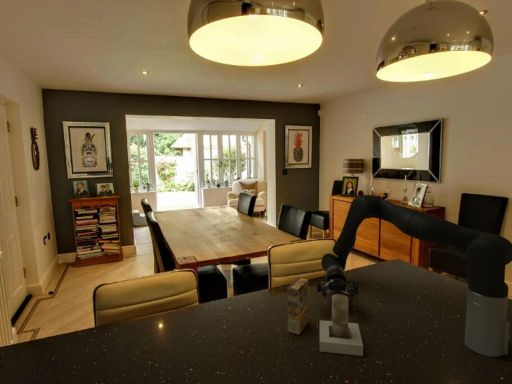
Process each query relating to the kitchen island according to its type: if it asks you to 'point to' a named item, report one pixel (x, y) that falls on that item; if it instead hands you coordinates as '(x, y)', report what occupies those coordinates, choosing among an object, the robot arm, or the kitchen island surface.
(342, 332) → the peg
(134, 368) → the kitchen island surface
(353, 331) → the socket block
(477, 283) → the robot arm
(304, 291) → the candy box
